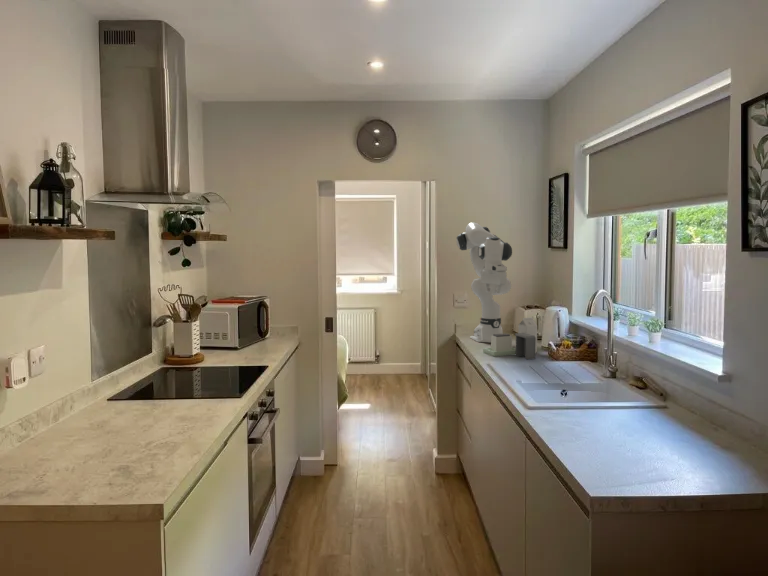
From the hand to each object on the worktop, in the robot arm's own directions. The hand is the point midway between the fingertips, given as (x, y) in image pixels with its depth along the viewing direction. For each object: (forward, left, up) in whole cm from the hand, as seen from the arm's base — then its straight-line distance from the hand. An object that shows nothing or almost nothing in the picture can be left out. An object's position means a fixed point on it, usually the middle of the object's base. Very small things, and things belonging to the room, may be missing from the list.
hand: (493, 292), depth 299 cm
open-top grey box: (+17, +9, -33) cm, 38 cm away
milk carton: (+7, +18, -33) cm, 39 cm away
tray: (+4, +3, -33) cm, 33 cm away
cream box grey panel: (+4, +3, -32) cm, 33 cm away
